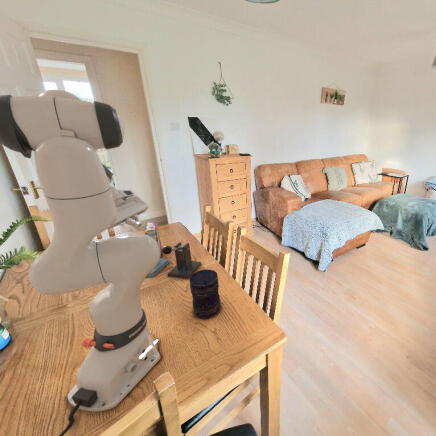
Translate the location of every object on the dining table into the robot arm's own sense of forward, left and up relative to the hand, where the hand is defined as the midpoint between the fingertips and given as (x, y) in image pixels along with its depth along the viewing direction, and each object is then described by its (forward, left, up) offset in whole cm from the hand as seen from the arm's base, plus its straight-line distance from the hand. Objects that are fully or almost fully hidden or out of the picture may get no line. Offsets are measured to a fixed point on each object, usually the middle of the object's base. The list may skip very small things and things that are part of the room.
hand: (139, 226), depth 96 cm
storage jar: (-12, -32, -27) cm, 44 cm away
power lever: (+4, -10, -14) cm, 18 cm away
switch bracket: (+10, -10, -27) cm, 30 cm away
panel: (+8, +6, -27) cm, 29 cm away
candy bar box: (+20, +12, -27) cm, 36 cm away
